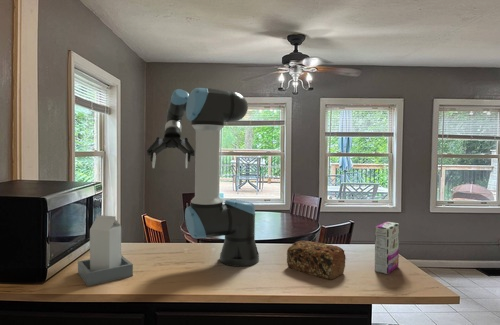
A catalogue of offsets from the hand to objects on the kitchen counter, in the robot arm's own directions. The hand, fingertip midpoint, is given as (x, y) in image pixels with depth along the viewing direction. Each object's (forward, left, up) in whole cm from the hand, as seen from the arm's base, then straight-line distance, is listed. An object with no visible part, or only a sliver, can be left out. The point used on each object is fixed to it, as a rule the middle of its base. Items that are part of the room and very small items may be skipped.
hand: (169, 166), depth 138 cm
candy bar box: (-68, -53, -36) cm, 93 cm away
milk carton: (-12, +29, -35) cm, 47 cm away
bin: (-12, +29, -36) cm, 48 cm away
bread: (-53, -31, -36) cm, 71 cm away
